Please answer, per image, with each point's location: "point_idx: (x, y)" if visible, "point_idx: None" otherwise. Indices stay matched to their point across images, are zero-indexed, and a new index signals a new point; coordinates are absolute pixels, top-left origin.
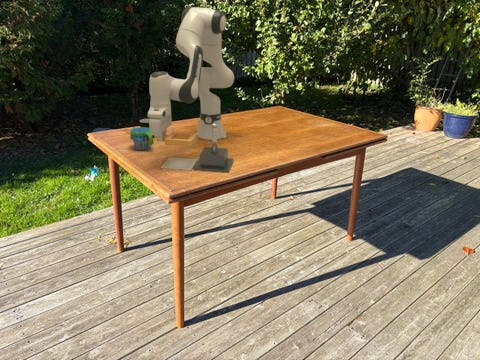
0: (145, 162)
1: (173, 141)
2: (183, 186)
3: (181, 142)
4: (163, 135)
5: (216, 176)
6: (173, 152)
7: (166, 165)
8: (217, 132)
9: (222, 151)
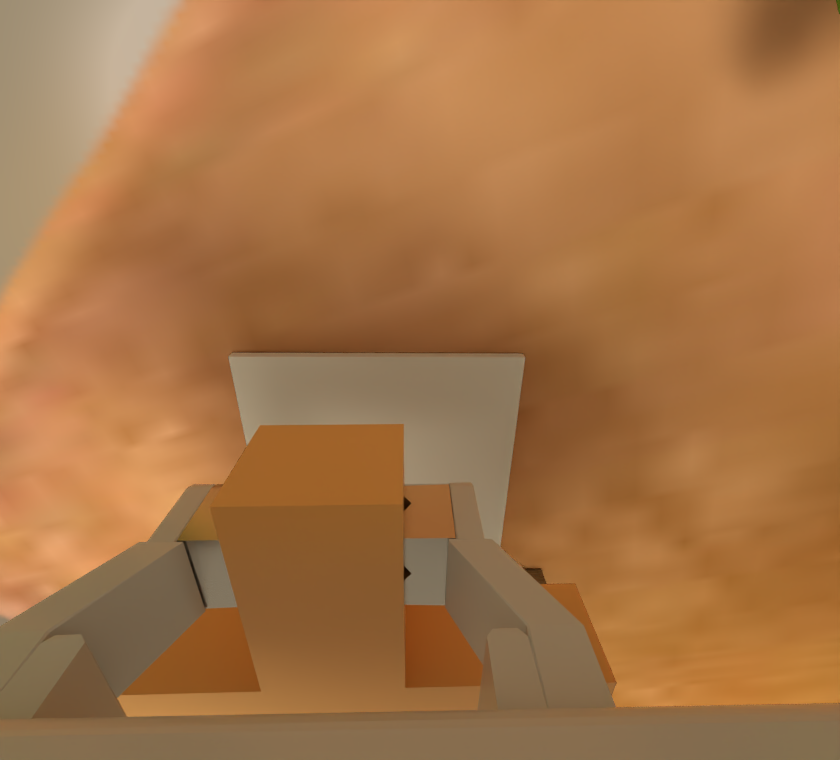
0: (343, 127)
1: None
2: (2, 575)
3: None
4: (318, 614)
5: None
6: (704, 339)
7: (294, 391)
8: None
9: None
